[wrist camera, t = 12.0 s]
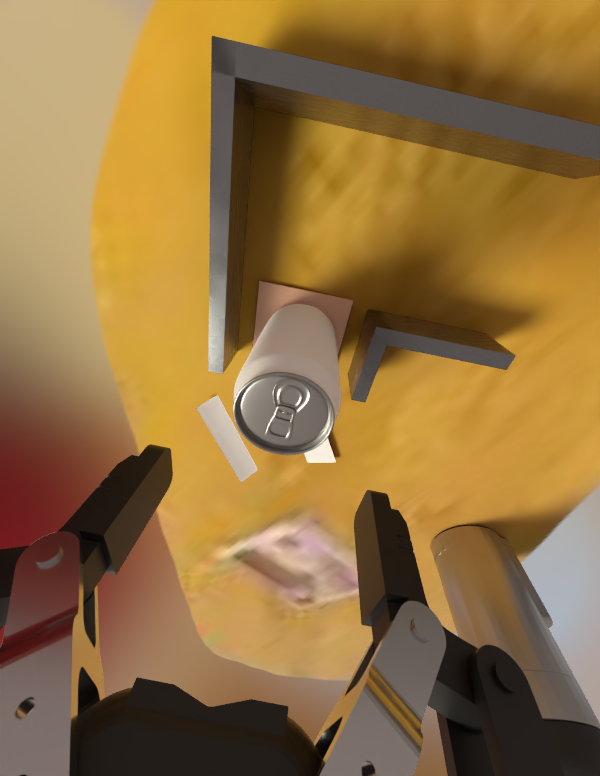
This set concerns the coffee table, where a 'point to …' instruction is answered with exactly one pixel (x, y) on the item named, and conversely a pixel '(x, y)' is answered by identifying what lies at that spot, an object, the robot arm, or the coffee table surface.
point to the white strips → (234, 445)
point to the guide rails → (379, 116)
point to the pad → (281, 296)
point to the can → (290, 383)
